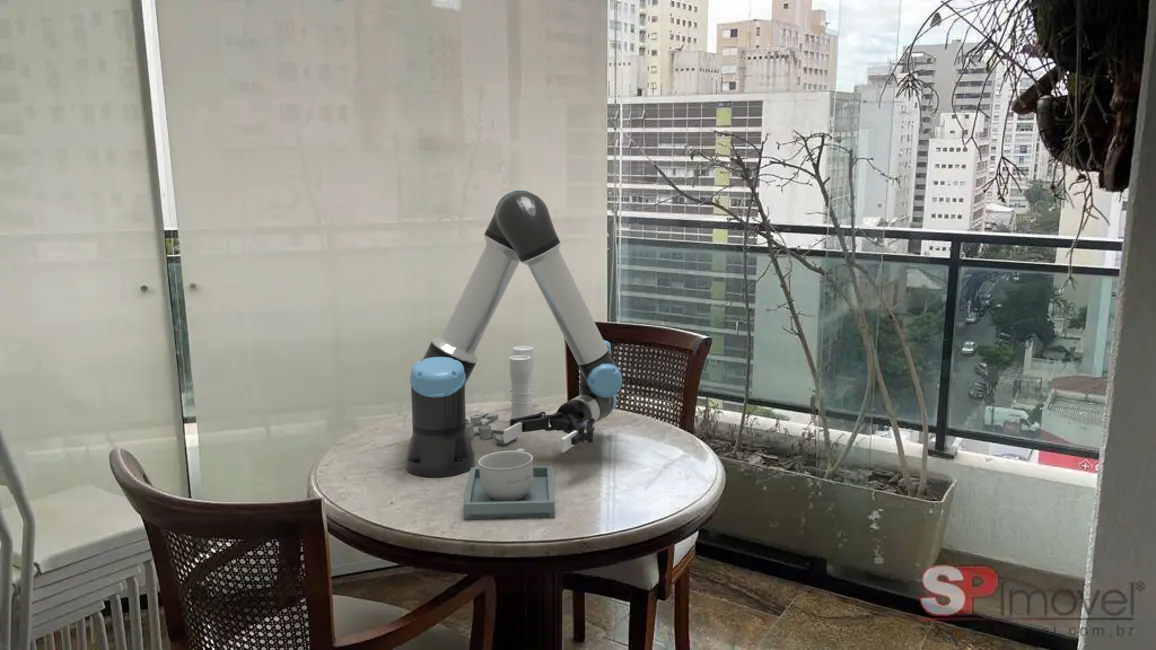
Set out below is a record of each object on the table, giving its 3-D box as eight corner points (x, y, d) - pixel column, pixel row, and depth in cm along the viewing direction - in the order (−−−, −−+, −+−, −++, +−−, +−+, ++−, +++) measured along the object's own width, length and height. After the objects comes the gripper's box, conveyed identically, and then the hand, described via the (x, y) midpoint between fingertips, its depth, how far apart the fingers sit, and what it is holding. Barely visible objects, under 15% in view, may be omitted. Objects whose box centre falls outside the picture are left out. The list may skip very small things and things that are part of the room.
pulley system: (460, 455, 196) (522, 445, 201) (458, 436, 195) (520, 426, 200) (440, 426, 222) (495, 418, 226) (438, 409, 221) (493, 401, 226)
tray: (464, 519, 157) (463, 504, 157) (471, 481, 177) (471, 467, 176) (554, 517, 158) (554, 502, 158) (551, 479, 178) (551, 465, 177)
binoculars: (530, 428, 213) (529, 359, 210) (509, 428, 213) (508, 359, 210) (534, 409, 230) (533, 345, 227) (514, 409, 230) (513, 345, 227)
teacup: (512, 511, 159) (512, 471, 157) (467, 499, 164) (466, 460, 163) (552, 487, 170) (552, 450, 169) (509, 477, 176) (508, 441, 175)
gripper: (627, 437, 189) (587, 467, 170) (530, 423, 199) (482, 449, 181) (627, 405, 187) (587, 431, 169) (530, 393, 198) (482, 416, 179)
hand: (533, 441), depth 175 cm, fingers open, 13 cm apart
